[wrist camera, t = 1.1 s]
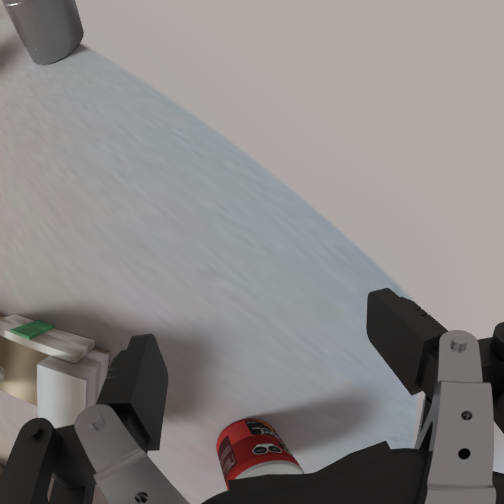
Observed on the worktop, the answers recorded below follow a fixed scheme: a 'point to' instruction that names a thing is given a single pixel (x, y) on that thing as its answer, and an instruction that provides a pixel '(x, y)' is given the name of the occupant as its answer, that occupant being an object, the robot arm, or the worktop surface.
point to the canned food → (253, 451)
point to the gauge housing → (50, 368)
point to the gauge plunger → (1, 374)
